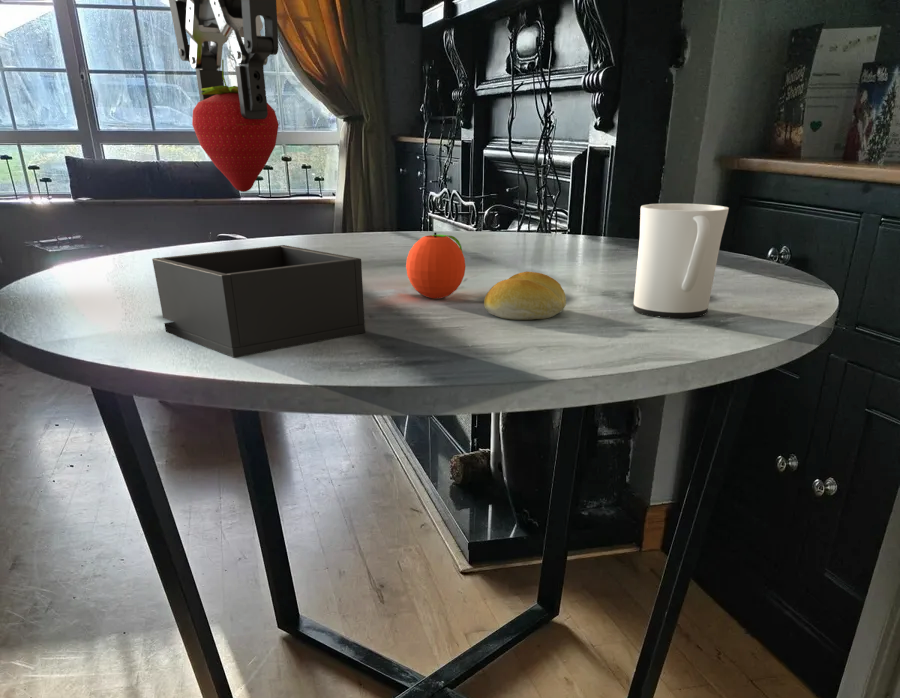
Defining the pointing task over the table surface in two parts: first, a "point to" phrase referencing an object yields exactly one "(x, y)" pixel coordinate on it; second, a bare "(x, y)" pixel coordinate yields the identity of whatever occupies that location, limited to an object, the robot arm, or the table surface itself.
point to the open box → (260, 298)
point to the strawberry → (234, 135)
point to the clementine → (436, 265)
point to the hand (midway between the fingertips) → (234, 118)
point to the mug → (677, 258)
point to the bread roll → (526, 297)
